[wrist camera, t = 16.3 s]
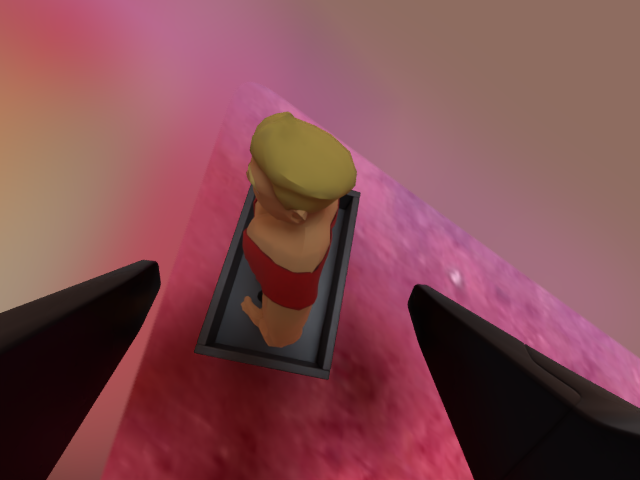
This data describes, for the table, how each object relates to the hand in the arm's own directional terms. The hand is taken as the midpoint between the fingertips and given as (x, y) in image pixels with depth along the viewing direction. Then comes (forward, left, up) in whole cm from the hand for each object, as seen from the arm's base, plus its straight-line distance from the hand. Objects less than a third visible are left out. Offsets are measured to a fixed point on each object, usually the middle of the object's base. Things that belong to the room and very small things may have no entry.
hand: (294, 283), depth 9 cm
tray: (+2, +2, -11) cm, 11 cm away
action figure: (+1, +2, -10) cm, 11 cm away
